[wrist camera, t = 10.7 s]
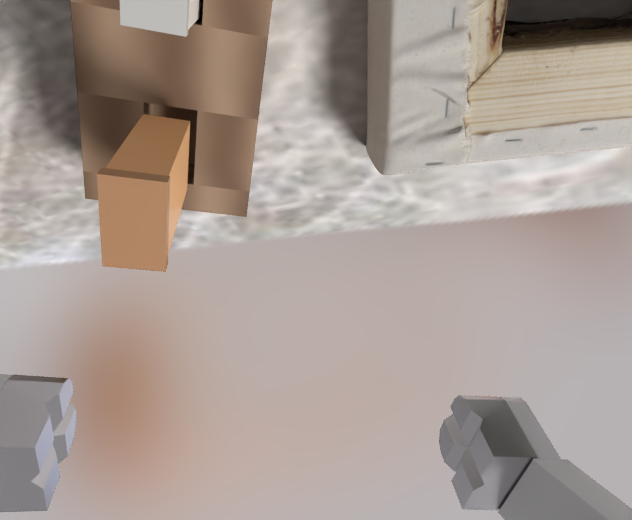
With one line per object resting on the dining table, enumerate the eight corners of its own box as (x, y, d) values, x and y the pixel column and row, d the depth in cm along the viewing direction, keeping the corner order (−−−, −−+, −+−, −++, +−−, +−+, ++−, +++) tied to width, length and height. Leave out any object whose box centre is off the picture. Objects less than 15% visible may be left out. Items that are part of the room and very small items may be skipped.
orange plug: (142, 185, 34) (102, 266, 25) (141, 112, 31) (96, 173, 22) (188, 191, 34) (165, 271, 25) (191, 119, 32) (167, 182, 23)
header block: (106, 168, 40) (85, 198, 35) (91, -146, 30) (57, -167, 25) (247, 186, 43) (246, 216, 38) (280, -100, 32) (285, -111, 27)
